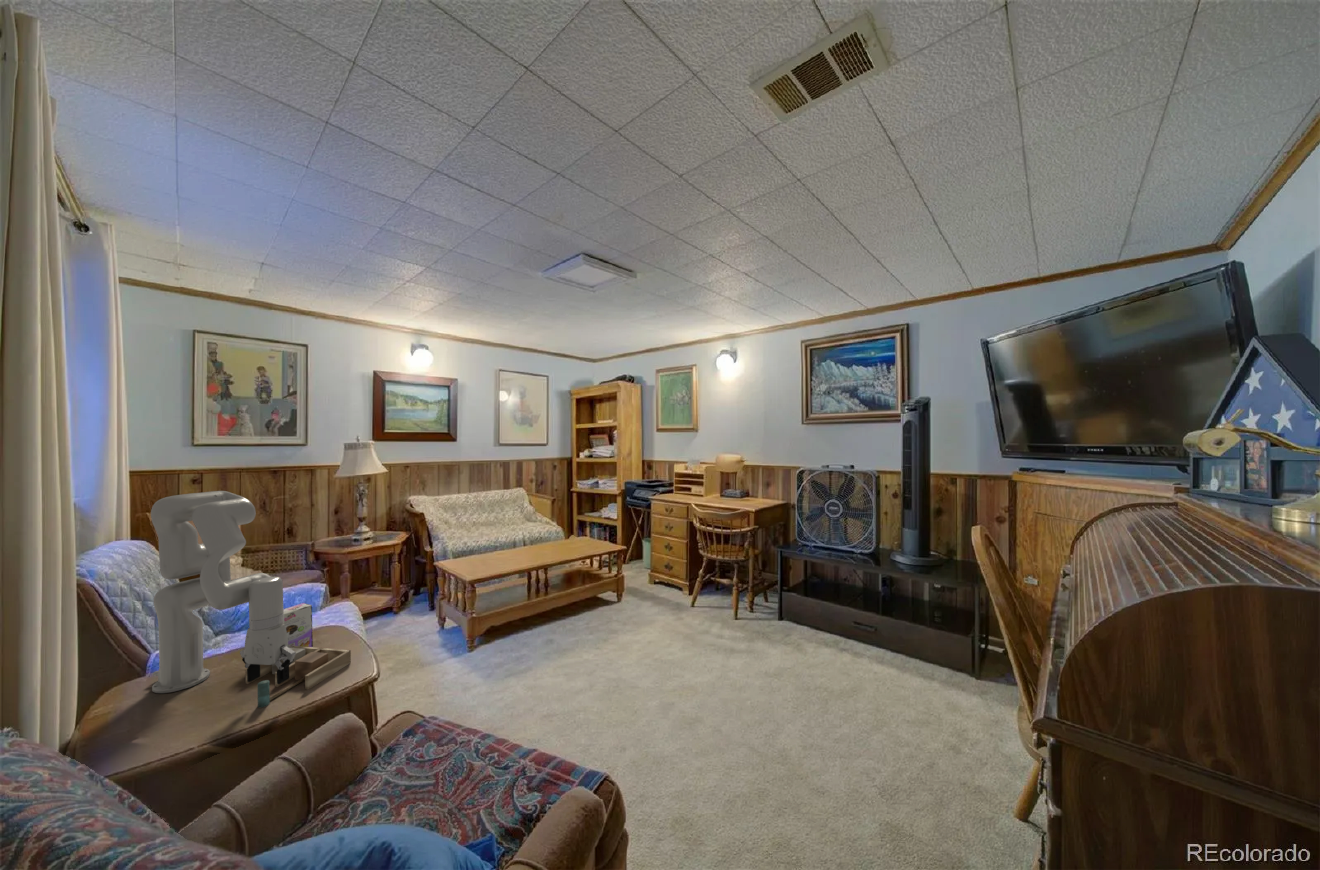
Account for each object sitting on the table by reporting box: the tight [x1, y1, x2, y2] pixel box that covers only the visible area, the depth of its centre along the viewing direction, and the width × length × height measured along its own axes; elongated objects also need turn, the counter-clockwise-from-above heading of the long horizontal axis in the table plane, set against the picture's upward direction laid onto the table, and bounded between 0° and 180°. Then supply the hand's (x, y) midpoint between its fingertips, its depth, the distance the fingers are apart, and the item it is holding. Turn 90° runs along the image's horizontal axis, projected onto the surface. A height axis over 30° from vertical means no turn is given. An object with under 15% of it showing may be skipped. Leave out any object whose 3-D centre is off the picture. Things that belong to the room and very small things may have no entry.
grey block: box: [271, 648, 305, 675], centre depth 149 cm, size 6×6×6 cm
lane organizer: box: [244, 646, 352, 690], centre depth 148 cm, size 22×16×5 cm
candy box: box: [283, 602, 314, 648], centre depth 159 cm, size 14×6×16 cm, turn 154°
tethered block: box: [257, 652, 328, 709], centre depth 139 cm, size 6×20×7 cm, turn 172°
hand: (268, 680), depth 131 cm, fingers open, 9 cm apart
